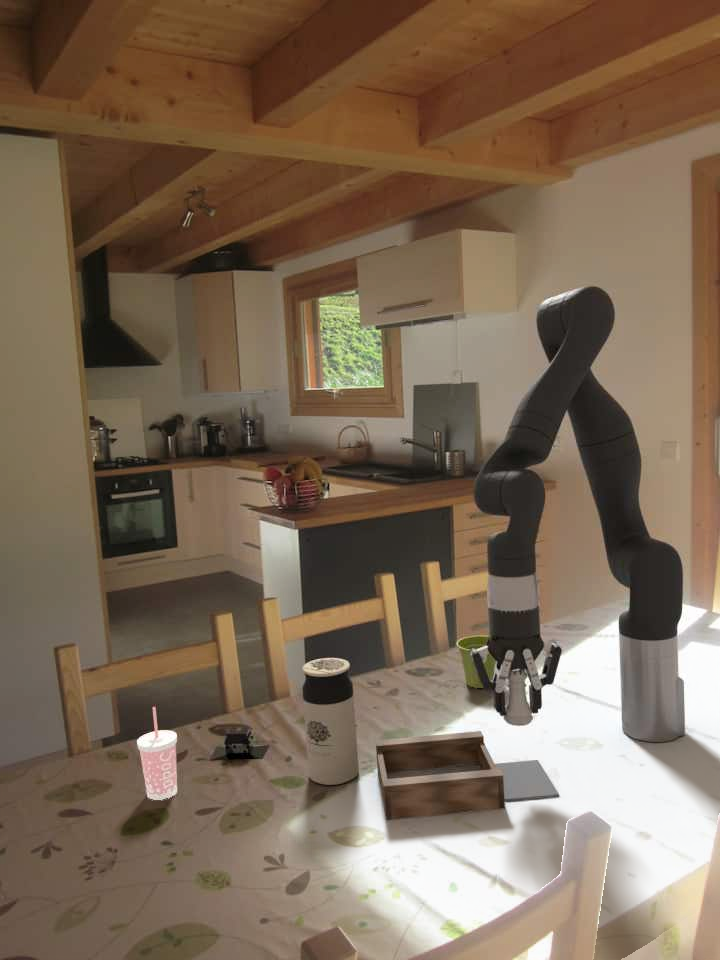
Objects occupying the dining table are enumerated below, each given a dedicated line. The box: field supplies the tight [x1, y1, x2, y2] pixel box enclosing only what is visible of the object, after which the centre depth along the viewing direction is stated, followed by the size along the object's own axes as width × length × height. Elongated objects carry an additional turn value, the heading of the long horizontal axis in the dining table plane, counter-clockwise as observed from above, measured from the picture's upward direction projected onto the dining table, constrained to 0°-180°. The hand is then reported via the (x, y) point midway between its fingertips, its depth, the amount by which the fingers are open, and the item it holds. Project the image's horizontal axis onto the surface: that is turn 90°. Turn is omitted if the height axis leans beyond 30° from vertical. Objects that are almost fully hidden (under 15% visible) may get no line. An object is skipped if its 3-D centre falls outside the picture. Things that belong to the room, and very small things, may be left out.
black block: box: [209, 726, 270, 762], centre depth 135 cm, size 12×7×5 cm, turn 85°
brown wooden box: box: [375, 730, 506, 821], centre depth 118 cm, size 17×15×5 cm
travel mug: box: [301, 657, 360, 786], centre depth 124 cm, size 8×8×18 cm
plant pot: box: [456, 635, 496, 689], centre depth 159 cm, size 9×9×9 cm
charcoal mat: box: [494, 759, 560, 802], centre depth 119 cm, size 8×11×1 cm
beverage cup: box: [136, 706, 178, 801], centre depth 122 cm, size 6×6×14 cm
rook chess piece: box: [502, 669, 534, 727], centre depth 118 cm, size 4×4×8 cm
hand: (517, 712), depth 118 cm, fingers closed on rook chess piece, 4 cm apart
